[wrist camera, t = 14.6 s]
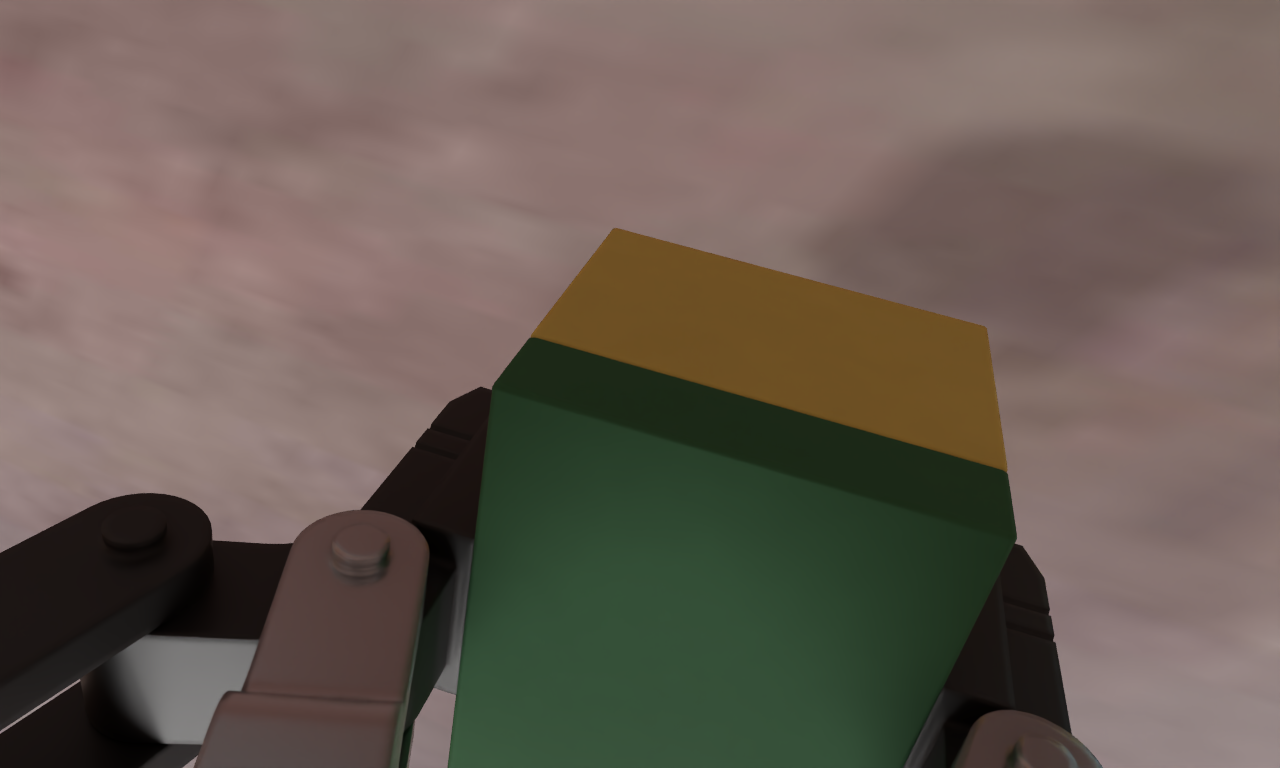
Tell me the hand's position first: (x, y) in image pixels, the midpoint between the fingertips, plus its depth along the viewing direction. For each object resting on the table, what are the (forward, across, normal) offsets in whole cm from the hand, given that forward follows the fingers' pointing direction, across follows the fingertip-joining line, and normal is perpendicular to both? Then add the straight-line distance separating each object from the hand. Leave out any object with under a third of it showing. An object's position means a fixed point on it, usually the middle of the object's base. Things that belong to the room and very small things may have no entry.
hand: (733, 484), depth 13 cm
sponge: (0, 0, 0) cm, 0 cm away
